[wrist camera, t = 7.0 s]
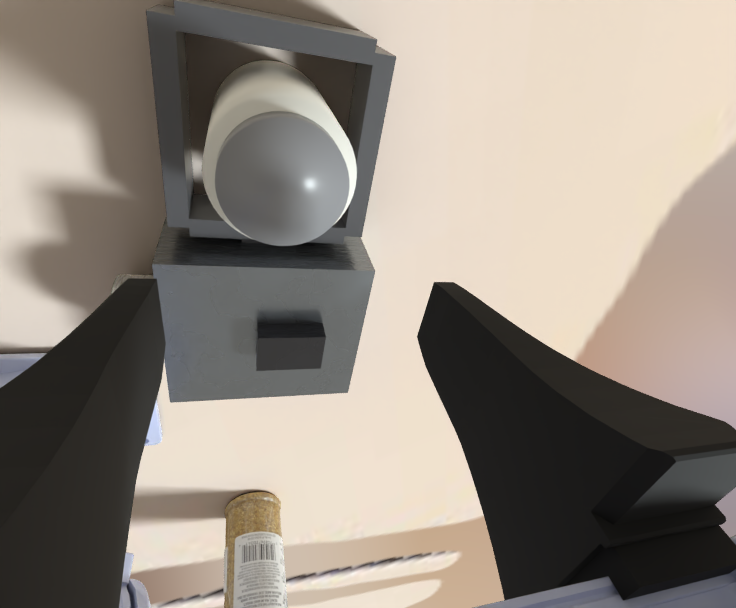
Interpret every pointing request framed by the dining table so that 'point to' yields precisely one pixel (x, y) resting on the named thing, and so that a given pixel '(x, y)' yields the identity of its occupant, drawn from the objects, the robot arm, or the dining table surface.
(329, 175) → the white gray cylinder
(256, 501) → the sprinkles bottle
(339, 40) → the dark grey square tray
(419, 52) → the dining table surface
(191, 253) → the drawer
